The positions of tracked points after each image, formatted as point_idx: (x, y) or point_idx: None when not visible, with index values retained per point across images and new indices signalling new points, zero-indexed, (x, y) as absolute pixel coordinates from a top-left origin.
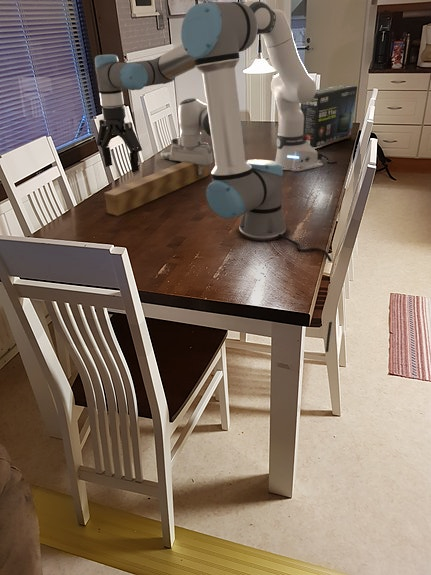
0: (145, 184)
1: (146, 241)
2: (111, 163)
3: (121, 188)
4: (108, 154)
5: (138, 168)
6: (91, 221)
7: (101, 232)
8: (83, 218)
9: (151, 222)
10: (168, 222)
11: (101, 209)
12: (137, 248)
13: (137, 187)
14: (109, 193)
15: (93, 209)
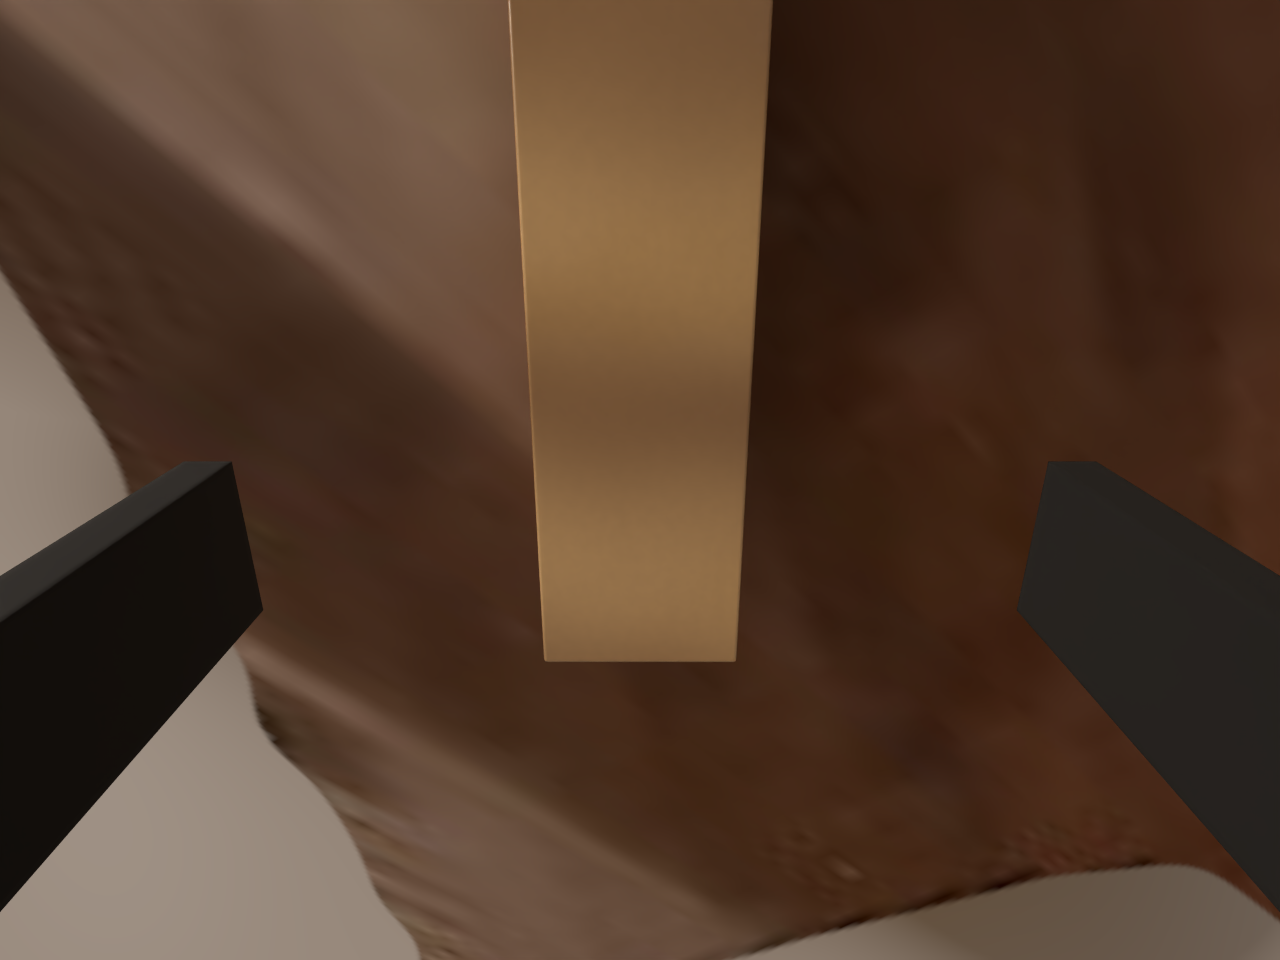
0: (767, 52)
1: None
2: (211, 493)
3: (613, 447)
4: (69, 680)
5: (1122, 482)
6: (600, 722)
7: (834, 806)
8: (489, 715)
9: None
10: (1267, 413)
11: (442, 511)
12: None
13: (757, 256)
14: (624, 648)
15: (377, 548)
